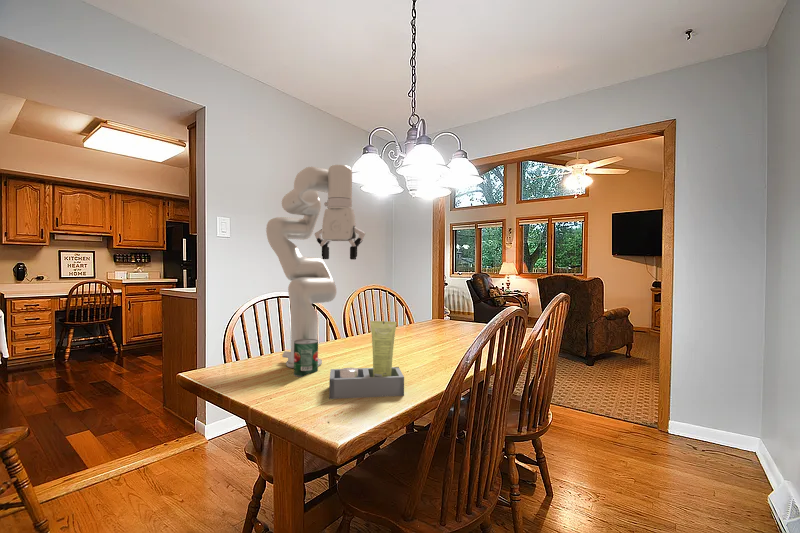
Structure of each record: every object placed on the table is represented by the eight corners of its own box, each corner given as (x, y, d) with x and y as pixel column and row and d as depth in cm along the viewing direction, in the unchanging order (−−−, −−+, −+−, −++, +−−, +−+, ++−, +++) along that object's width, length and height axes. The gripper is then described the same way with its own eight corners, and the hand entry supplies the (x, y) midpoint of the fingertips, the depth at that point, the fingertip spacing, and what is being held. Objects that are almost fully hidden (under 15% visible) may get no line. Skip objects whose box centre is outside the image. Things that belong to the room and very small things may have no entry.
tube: (385, 385, 113) (385, 319, 113) (396, 389, 109) (396, 321, 109) (369, 389, 110) (370, 320, 110) (380, 393, 106) (381, 322, 106)
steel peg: (336, 393, 106) (336, 371, 106) (344, 387, 111) (344, 367, 111) (353, 395, 104) (353, 373, 104) (360, 389, 109) (360, 368, 109)
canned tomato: (289, 373, 129) (289, 340, 128) (310, 369, 134) (310, 337, 134) (300, 378, 123) (301, 344, 123) (322, 374, 128) (322, 341, 128)
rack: (329, 402, 102) (329, 379, 102) (330, 389, 112) (330, 369, 112) (404, 399, 105) (404, 377, 105) (398, 387, 115) (398, 367, 115)
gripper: (309, 204, 121) (309, 258, 121) (359, 202, 116) (359, 259, 116) (321, 207, 128) (321, 259, 128) (369, 206, 123) (369, 259, 123)
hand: (339, 259), depth 122 cm, fingers open, 9 cm apart
